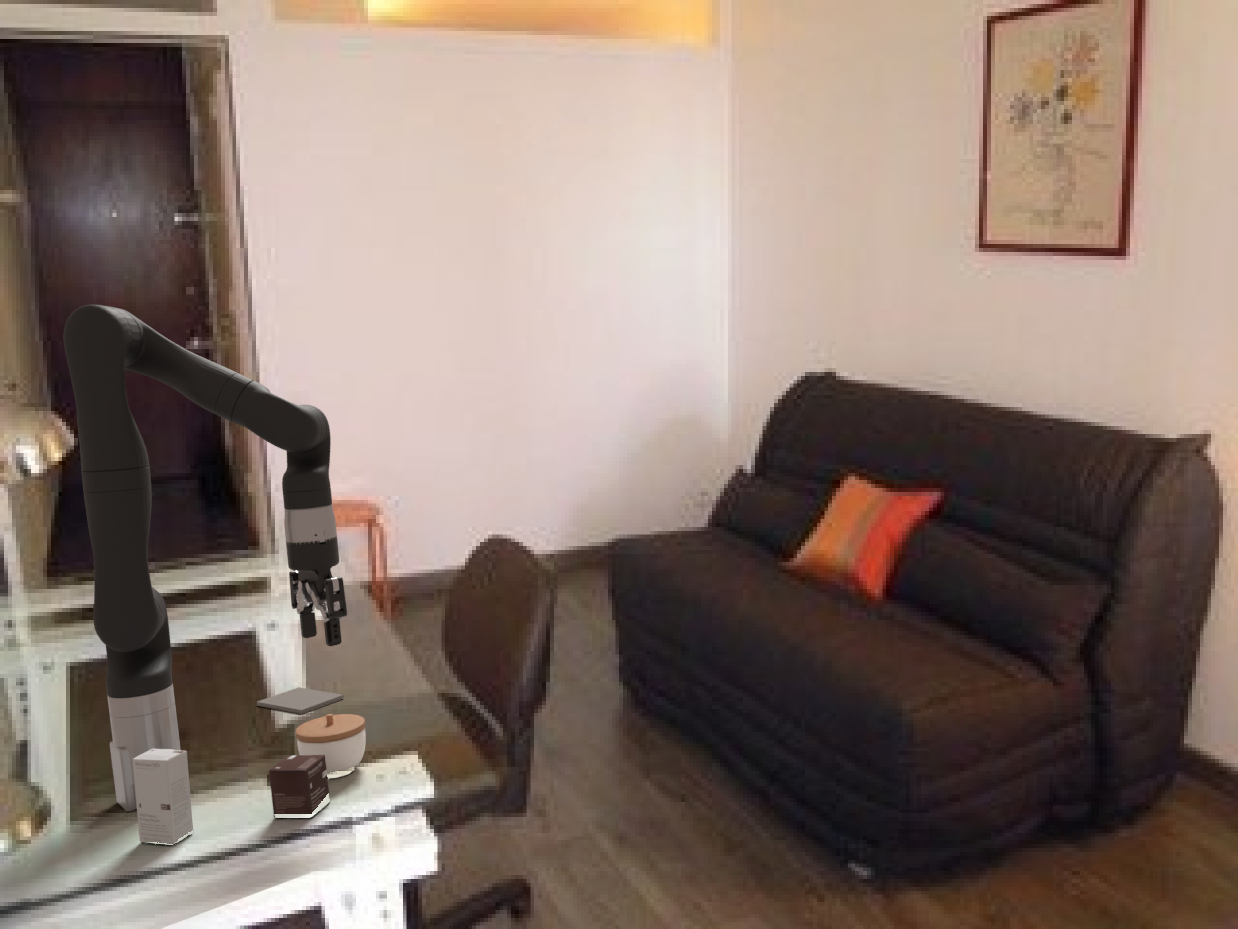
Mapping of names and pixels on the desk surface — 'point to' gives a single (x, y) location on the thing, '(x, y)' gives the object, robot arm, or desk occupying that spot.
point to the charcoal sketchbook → (300, 700)
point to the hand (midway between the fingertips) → (321, 641)
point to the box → (298, 784)
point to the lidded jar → (334, 740)
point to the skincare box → (162, 795)
